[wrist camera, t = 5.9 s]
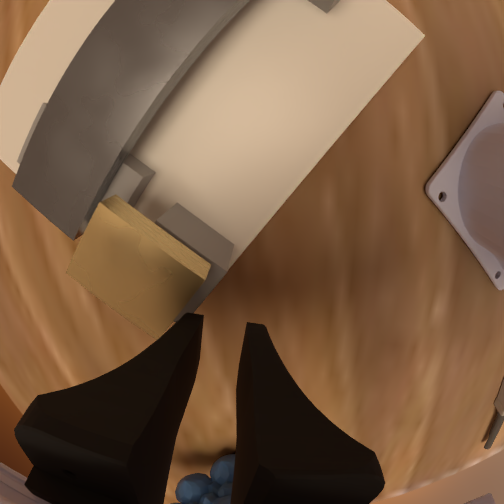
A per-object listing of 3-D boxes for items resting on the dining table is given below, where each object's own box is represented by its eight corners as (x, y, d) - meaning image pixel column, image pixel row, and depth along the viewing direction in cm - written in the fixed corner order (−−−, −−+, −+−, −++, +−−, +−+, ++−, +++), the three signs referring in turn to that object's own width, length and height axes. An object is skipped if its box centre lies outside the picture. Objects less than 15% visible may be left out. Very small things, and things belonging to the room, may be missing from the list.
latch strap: (225, -84, 7) (222, -101, 6) (305, -47, 8) (309, -65, 6) (28, 181, 11) (9, 187, 10) (87, 231, 12) (70, 242, 11)
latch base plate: (411, 42, 11) (457, 20, 7) (198, 297, 16) (180, 348, 12) (163, -96, 8) (142, -135, 4) (-5, 136, 13) (-55, 144, 9)
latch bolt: (211, 264, 10) (205, 280, 9) (166, 321, 11) (157, 340, 10) (115, 194, 10) (99, 201, 9) (81, 259, 11) (65, 272, 9)
